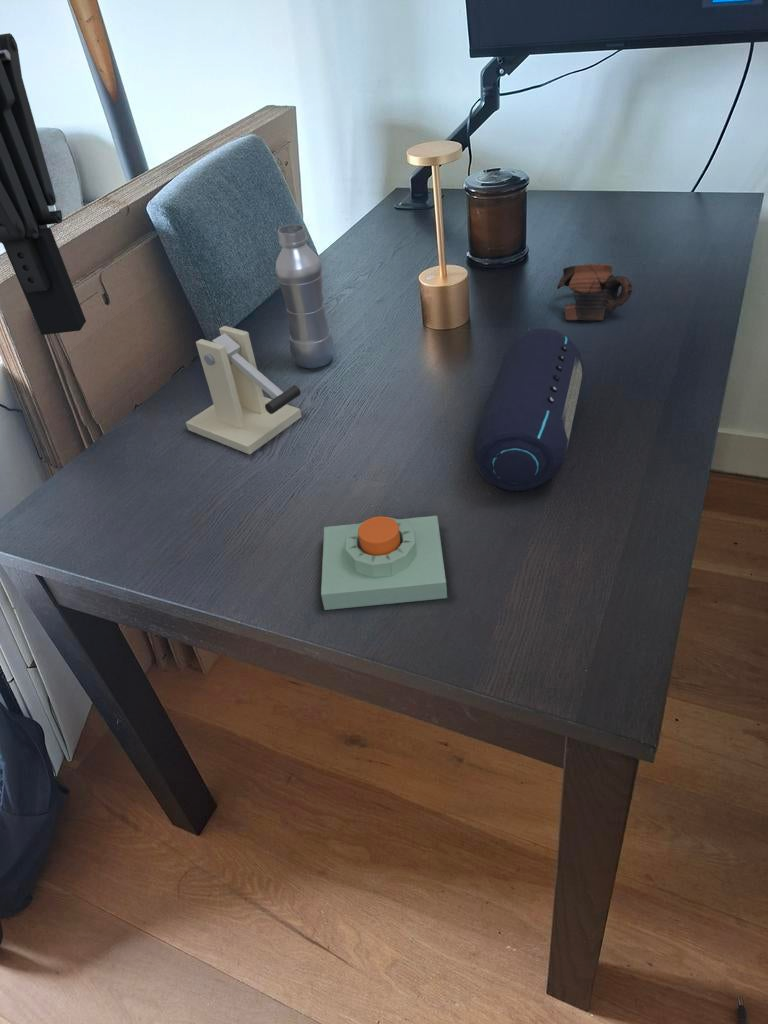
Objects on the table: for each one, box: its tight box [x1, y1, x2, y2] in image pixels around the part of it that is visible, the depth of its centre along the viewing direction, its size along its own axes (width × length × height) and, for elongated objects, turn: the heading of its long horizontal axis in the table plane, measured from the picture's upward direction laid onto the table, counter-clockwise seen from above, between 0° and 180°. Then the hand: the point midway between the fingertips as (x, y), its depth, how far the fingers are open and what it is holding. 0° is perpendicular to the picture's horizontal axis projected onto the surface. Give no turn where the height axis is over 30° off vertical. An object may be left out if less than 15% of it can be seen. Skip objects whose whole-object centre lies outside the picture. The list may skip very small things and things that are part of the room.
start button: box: [358, 516, 400, 556], centre depth 75 cm, size 4×4×2 cm
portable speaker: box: [474, 327, 585, 492], centre depth 89 cm, size 25×10×10 cm, turn 163°
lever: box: [211, 333, 301, 414], centre depth 95 cm, size 12×5×2 cm, turn 52°
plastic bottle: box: [274, 223, 336, 369], centre depth 107 cm, size 6×7×20 cm
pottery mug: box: [556, 263, 633, 322], centre depth 115 cm, size 12×10×8 cm
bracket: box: [185, 325, 303, 455], centre depth 98 cm, size 12×10×13 cm
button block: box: [320, 515, 448, 611], centre depth 76 cm, size 12×10×4 cm
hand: (64, 327), depth 52 cm, fingers closed
